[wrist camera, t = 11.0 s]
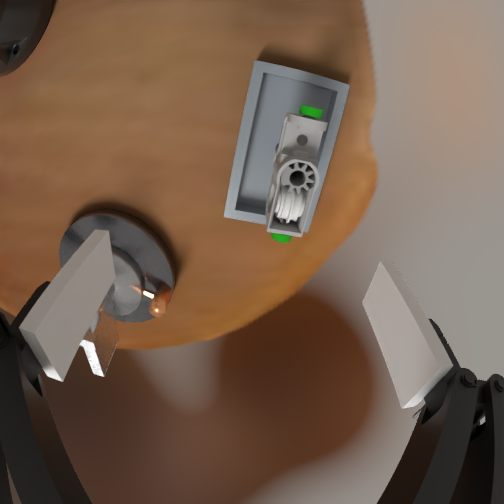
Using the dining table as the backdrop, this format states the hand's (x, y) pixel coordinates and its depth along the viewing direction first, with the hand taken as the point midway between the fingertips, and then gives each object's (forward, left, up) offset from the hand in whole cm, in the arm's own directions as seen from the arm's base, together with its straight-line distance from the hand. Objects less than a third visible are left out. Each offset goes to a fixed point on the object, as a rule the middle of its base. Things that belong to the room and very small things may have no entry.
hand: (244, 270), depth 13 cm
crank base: (+16, -15, -19) cm, 29 cm away
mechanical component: (-3, +3, -18) cm, 19 cm away
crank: (+19, -15, -16) cm, 29 cm away
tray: (-3, +3, -19) cm, 19 cm away
